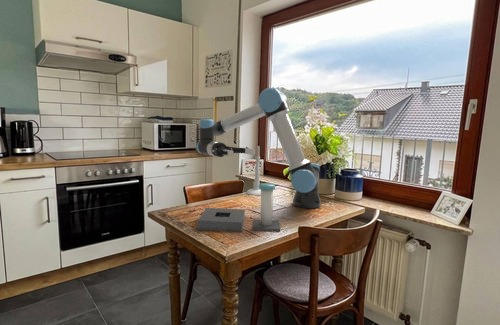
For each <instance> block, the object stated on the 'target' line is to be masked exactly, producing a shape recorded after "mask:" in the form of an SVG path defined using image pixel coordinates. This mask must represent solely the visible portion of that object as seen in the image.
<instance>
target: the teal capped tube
mask: <svg viewBox="0 0 500 325" xmlns="http://www.w3.org/2000/svg"><path fill="white" fill-rule="evenodd" d="M259 189H261V196H260V220H261V225H263V226H270V225H272V220H273V205H274V203H273V201H274V200H273V198H274V190H276V184H275V183H271V182H266V183H264V182H263V183H260V184H259Z"/></svg>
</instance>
